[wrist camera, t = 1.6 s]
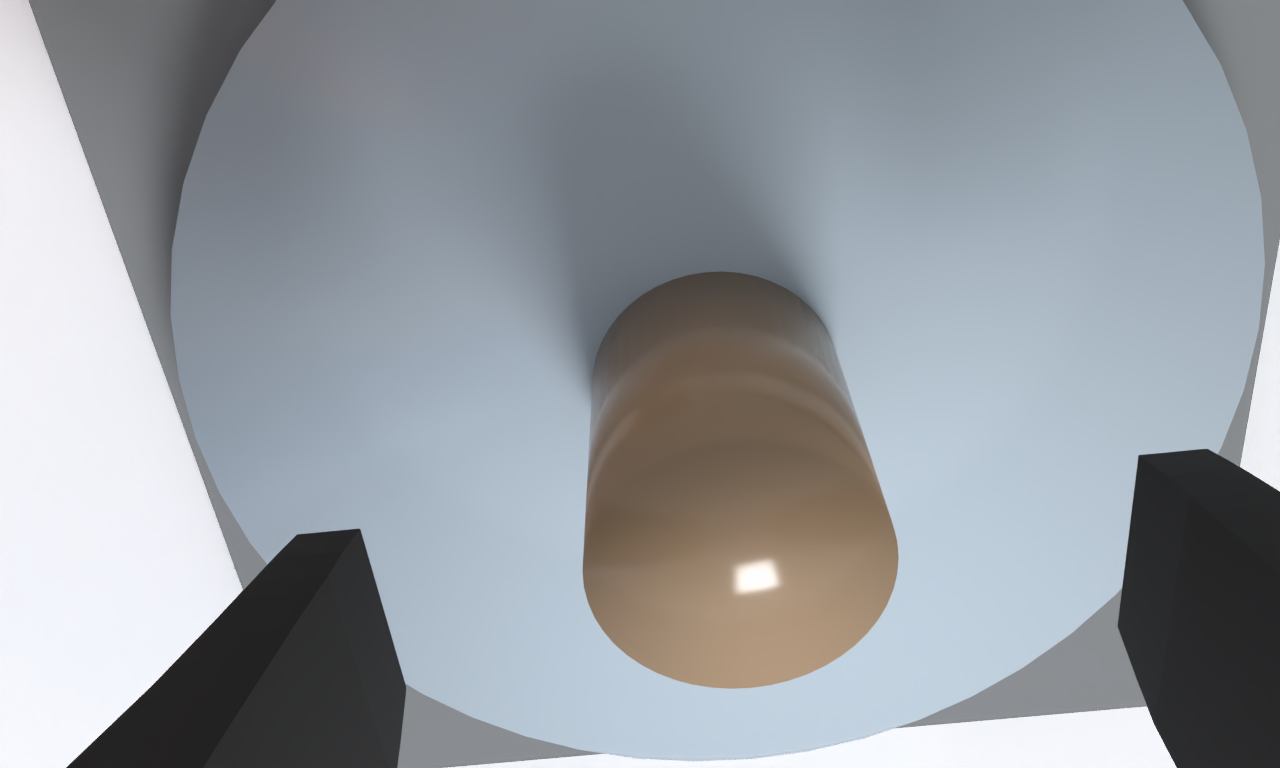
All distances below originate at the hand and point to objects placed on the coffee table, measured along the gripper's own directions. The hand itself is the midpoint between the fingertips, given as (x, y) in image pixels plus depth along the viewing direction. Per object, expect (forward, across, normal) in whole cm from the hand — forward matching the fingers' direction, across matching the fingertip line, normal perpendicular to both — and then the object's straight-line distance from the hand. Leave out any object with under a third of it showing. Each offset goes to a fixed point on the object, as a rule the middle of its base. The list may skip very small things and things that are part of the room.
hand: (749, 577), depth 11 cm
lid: (+4, 0, 0) cm, 5 cm away
